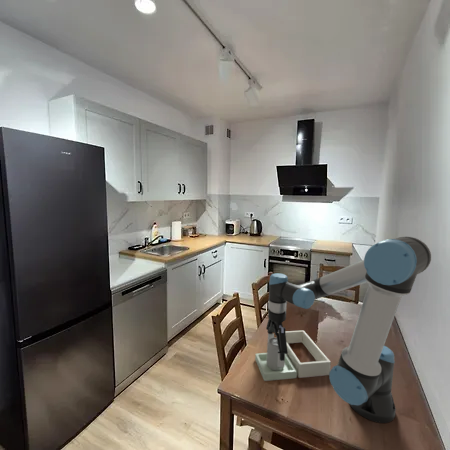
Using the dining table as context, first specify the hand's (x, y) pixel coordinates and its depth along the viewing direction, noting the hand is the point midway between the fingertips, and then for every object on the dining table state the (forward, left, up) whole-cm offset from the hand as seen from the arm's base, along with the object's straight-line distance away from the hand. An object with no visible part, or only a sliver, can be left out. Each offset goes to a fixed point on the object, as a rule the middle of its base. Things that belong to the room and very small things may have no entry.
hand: (275, 356), depth 114 cm
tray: (0, 0, -6) cm, 6 cm away
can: (0, 0, -5) cm, 5 cm away
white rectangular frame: (+6, -15, -6) cm, 17 cm away
